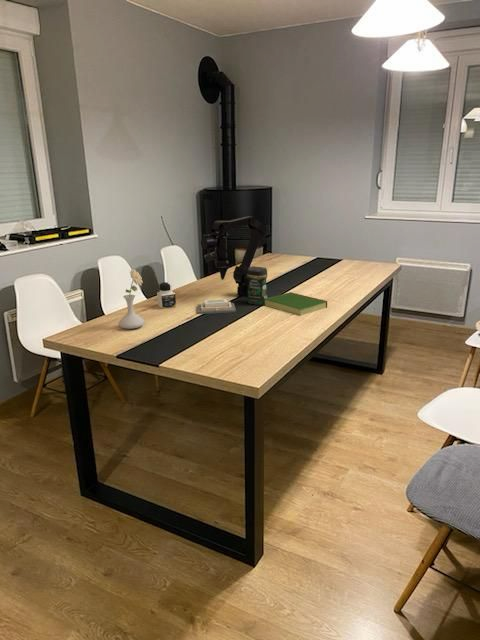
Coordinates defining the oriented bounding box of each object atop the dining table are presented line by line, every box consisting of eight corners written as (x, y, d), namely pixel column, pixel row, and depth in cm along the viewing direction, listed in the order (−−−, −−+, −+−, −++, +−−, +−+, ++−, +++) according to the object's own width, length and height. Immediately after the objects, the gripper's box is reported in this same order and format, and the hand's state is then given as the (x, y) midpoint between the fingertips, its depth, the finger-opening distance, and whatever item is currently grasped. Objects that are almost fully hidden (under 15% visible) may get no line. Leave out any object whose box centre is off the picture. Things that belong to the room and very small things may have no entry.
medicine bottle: (162, 309, 235) (160, 285, 232) (157, 306, 241) (156, 282, 238) (176, 307, 238) (174, 283, 235) (171, 303, 245) (169, 280, 241)
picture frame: (226, 304, 237) (226, 298, 236) (228, 308, 232) (228, 301, 231) (204, 306, 235) (203, 300, 234) (205, 309, 230) (205, 303, 229)
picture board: (233, 304, 241) (233, 300, 240) (235, 312, 228) (235, 307, 228) (197, 306, 239) (197, 302, 239) (197, 314, 227) (197, 309, 226)
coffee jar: (245, 303, 242) (244, 267, 236) (253, 300, 248) (253, 264, 243) (261, 306, 237) (261, 269, 231) (269, 302, 243) (269, 266, 237)
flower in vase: (132, 332, 203) (127, 274, 196) (113, 328, 209) (107, 271, 201) (153, 324, 214) (149, 268, 206) (134, 320, 220) (129, 265, 212)
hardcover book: (327, 308, 233) (327, 301, 232) (300, 316, 222) (300, 308, 220) (289, 298, 251) (289, 291, 250) (263, 306, 240) (263, 298, 239)
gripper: (204, 244, 249) (205, 274, 253) (205, 250, 231) (206, 282, 236) (226, 243, 249) (226, 273, 254) (228, 249, 232) (229, 281, 236)
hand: (222, 277), depth 245 cm, fingers open, 9 cm apart
